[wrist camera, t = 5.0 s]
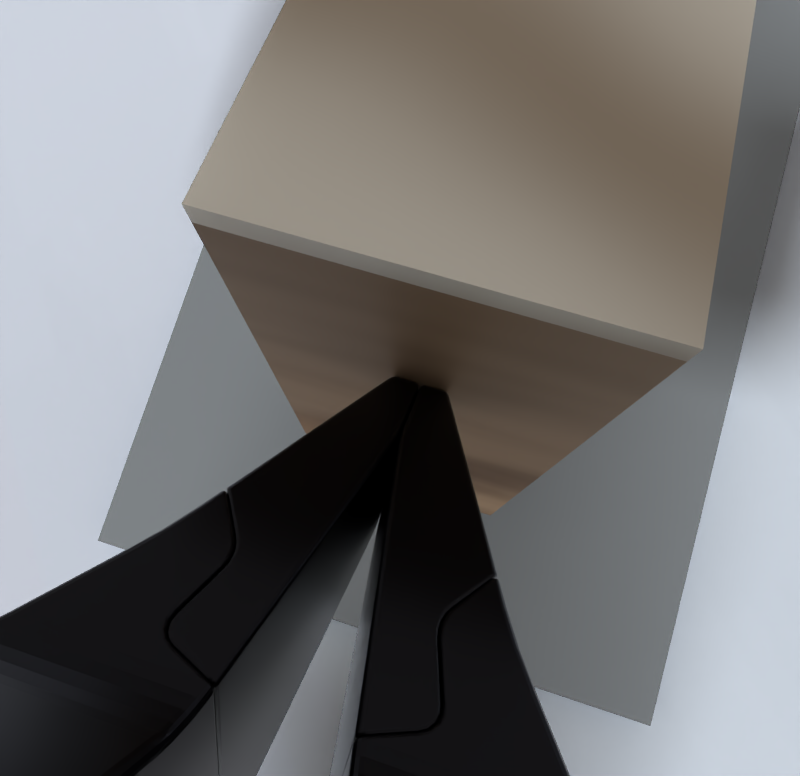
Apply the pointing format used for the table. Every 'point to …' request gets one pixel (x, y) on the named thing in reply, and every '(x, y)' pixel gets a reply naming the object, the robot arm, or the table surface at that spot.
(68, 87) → the table surface
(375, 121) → the walnut block
